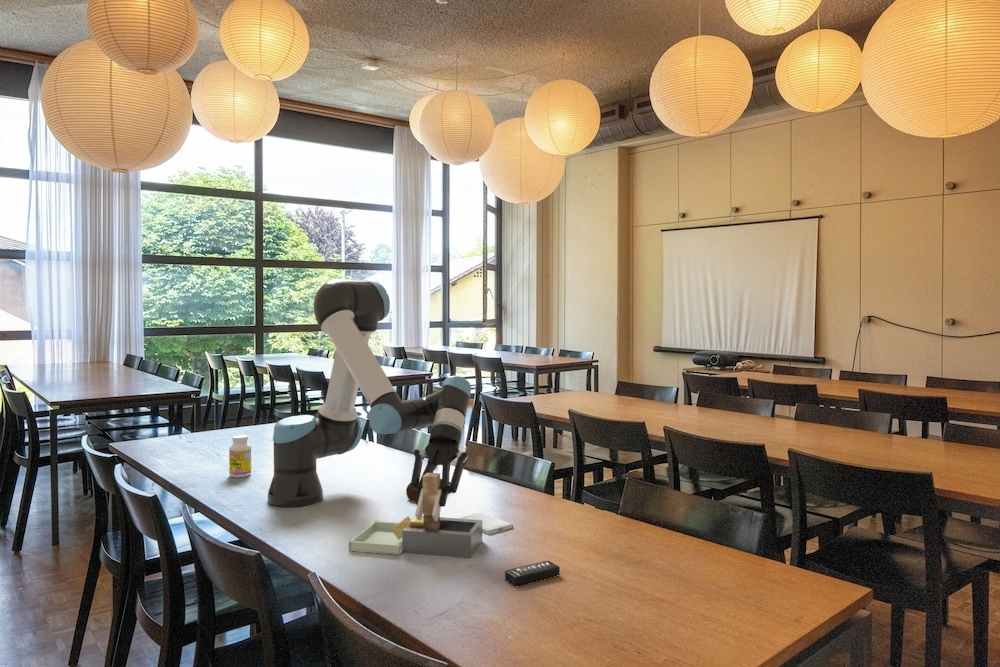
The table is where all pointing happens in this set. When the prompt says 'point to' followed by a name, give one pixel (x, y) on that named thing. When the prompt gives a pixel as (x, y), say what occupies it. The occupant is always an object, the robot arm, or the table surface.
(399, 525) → the light wood block
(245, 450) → the supplement bottle
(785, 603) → the table surface
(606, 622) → the table surface
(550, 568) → the multiport hub
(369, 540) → the tray
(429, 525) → the tan wooden pedestal block
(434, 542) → the gray open box
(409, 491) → the bolt
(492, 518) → the hard drive
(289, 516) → the table surface
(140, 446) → the table surface
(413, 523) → the tan wooden block
